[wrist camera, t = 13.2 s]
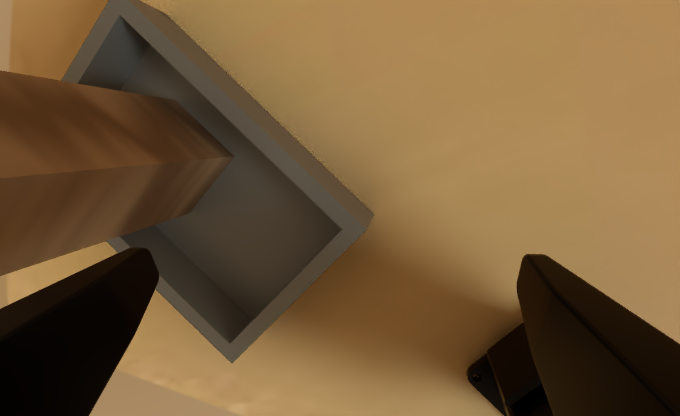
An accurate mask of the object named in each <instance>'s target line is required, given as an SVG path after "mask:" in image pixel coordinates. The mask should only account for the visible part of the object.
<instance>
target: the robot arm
mask: <svg viewBox="0 0 680 416" xmlns="http://www.w3.org/2000/svg"><path fill="white" fill-rule="evenodd" d="M158 281H159V271H158V269H157V266H156V264H155V261H154V259H153V257H152V254H151V252H150V251H149V250H148V249H147V248H144V247H131V248H128V249H126V250H124V251H122V252H119V253H117V254H115V255H113V256H111V257H109V258H107V259H105V260H103V261H100V262H98V263H96V264H94V265H92V266H90V267H88V268H86V269H84V270H81V271H79V272H77V273H75V274H73V275H71V276H69V277H67V278H65V279H62V280H60V281H58V282H56V283H54V284H52V285H50V286H48V287H46V288H43V289H41V290H39V291H37V292H35V293H33V294H31V295H29V296H27V297H24V298H22V299H20V300H18V301H16V302H14V303H12V304H10V305H8V306H5V307H3V308H1V309H0V416H89V414H90V413H91V411H92V409H93V408H94V406H95V404H96V402H97V401H98V399H99V397H100V395H101V393H102V392H103V390H104V388H105V386H106V385H107V383H108V381H109V379H110V378H111V376H112V374H113V372H114V371H115V369H116V367H117V365H118V364H119V362H120V360H121V358H122V357H123V355H124V353H125V351H126V349H127V348H128V346H129V344H130V342H131V340H132V339H133V337H134V335H135V333H136V331H137V329H138V327H139V324H140V322H141V320H142V318H143V315H144V313H145V311H146V309H147V306H148V304H149V302H150V300H151V297H152V295H153V293H154V291H155V288H156V286H157V284H158ZM517 294H518V299H519V303H520V307H521V311H522V315H523V320H524V323H522V324H521V325H519V326H518V327H517V328H516V329H514V330H513V331H512V332H510V333H509V334H508V335H506V336H505V337H504V338H503V339H501V340H500V341H499V342H497V343H496V344H495V345H494V346H492V347H491V348H490V349H488V351H487V354H486V355H484V356H483V357H482V358H481V359H479V360H478V361H477V362H475V363H474V364H473V365H471V366H470V367H469V368H468V369H467V377H468V380H469V382H470V383H471V384H472V385H473V386H474V387H475V388H476V389H477V390H478V391H479V392H480V393H481V394H482V395H483V396H484V397H485V398H486V399H487V400H488V401H490V402H491V403H492V404H493V405H494V406H495V407H496V408H497V409H498V410H499V411H500V412H501V413H502V414H503V415H504V416H680V344H679V343H677V342H676V341H674V340H673V339H671V338H670V337H668V336H667V335H665V334H664V333H662V332H661V331H659V330H658V329H656V328H655V327H653V326H652V325H650V324H649V323H647V322H646V321H644V320H643V319H641V318H640V317H638V316H637V315H635V314H634V313H632V312H631V311H629V310H628V309H626V308H625V307H623V306H622V305H620V304H619V303H617V302H616V301H614V300H613V299H611V298H610V297H608V296H607V295H605V294H604V293H602V292H601V291H599V290H598V289H596V288H595V287H593V286H592V285H590V284H589V283H587V282H586V281H584V280H583V279H581V278H580V277H578V276H577V275H575V274H574V273H572V272H571V271H569V270H568V269H566V268H565V267H563V266H562V265H560V264H559V263H557V262H556V261H554V260H553V259H551V258H550V257H548V256H546V255H543V254H526V255H525V256H524V257H523V259H522V262H521V267H520V271H519V275H518V280H517ZM474 374H480V376H479V377H473V375H474Z"/></svg>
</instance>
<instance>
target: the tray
mask: <svg viewBox="0 0 680 416" xmlns="http://www.w3.org/2000/svg"><path fill="white" fill-rule="evenodd" d="M61 81H65V82H70V83H76V84H82V85H88V86H94V87H100V88H106V89H112V90H118V91H124V92H130V93H136V94H142V95H147V96H153V97H159V98H165V99H171V100H176V101H177V102H178V103H179V104H180V105H181V106H182V107H183V108H184V109H185V110H186V111H187V112H188V113H190V114H191V115H192V116H193V117H194V118H195V119H196V120H197V121H198V122H199V123H200V124H201V125H202V126H203V127H204V128H205V129H206V130H207V131H208V132H209V133H210V134H212V135H213V136H214V137H215V138H216V139H217V140H218V141H219V142H220V143H221V144H222V145H223V146H224V147H225V148H226V149H227V150H228V151H229V152H230V153H231V154H232V155H234V158H233V159H232V160H231V161H230V163H229V164H228V165H227V166H226V168H225V169H224V170H223V171H222V173H221V174H220V175H219V176H218V178H217V179H216V180H215V181H214V183H213V184H212V185H211V186H210V188H209V189H208V190H207V191H206V193H205V194H204V195H203V196H202V198H201V199H200V200H199V201H198V203H197V204H196V205H195V206H194V208H193V209H192V210H191V211H190V213H189V214H186V215H183V216H180V217H177V218H174V219H171V220H168V221H165V222H162V223H159V224H156V225H153V226H150V227H146V228H143V229H140V230H137V231H134V232H131V233H128V234H125V235H122V236H119V237H116V238H113V239H110V240H107V241H106V242H107V243H109V244H110V245H111V246H112V247H113V248H114V249H115V250H116V251H117V252H118V253H119V252H122V251H124V250H126V249H128V248H131V247H144V248H147V249H148V250H149V251H150V252H151V254H152V257H153V259H154V261H155V264H156V266H157V269H158V271H159V281H158V284H157V286H156V288H155V289H156V290H157V291H158V292H159V293H160V294H161V295H162V296H163V297H164V298H165V299H166V300H167V301H168V302H169V303H170V304H171V305H172V306H173V307H174V308H175V309H176V310H177V311H178V312H179V313H180V314H181V315H182V316H184V317H185V318H186V319H187V320H188V321H189V322H190V323H191V324H192V325H193V326H194V327H195V328H196V329H197V330H198V331H199V332H200V333H201V334H202V335H203V336H204V337H205V338H206V339H207V340H208V341H209V342H210V343H211V344H212V345H213V346H214V347H215V348H216V349H217V350H218V351H219V352H220V353H222V354H223V355H224V356H225V357H226V358H227V359H228V360H229V361H230V362H231V363H233V362H234V361H235V360H236V359H237V358H238V357H239V356H240V355H241V354H242V353H243V352H244V351H245V350H246V349H247V348H248V347H249V346H250V345H251V344H252V343H253V342H254V341H255V340H256V339H257V338H258V337H259V336H260V335H261V334H262V333H263V332H264V331H265V330H266V329H267V328H268V327H269V326H270V325H271V324H272V323H273V322H274V321H275V320H276V319H277V318H278V317H279V316H280V315H281V314H282V313H283V312H284V311H285V310H286V309H287V308H288V307H289V306H290V305H291V304H292V303H293V302H294V301H295V300H296V299H297V298H298V297H299V296H300V295H301V294H302V293H303V292H304V291H306V290H307V289H308V288H309V287H310V286H311V285H312V284H313V283H314V282H315V281H316V280H317V279H318V278H319V277H320V276H321V275H322V274H323V273H324V272H325V271H326V270H327V269H328V268H329V267H330V266H331V265H332V264H333V263H334V262H335V261H336V260H337V259H338V258H339V257H340V256H341V255H342V254H343V253H344V252H345V251H346V250H347V249H348V248H349V247H350V246H351V245H352V244H353V243H354V242H355V241H356V240H357V239H358V238H359V237H360V236H361V235H362V234H363V233H364V232H365V231H366V230H367V228H368V226H369V224H370V222H371V220H372V218H373V216H374V214H373V213H372V212H371V211H370V210H369V209H368V208H367V207H366V206H365V205H364V204H363V203H362V202H361V201H360V200H359V199H358V198H357V197H355V196H354V195H353V194H352V193H351V192H350V191H349V190H348V189H347V188H346V187H345V186H344V185H343V184H342V183H341V182H340V181H339V180H338V179H337V178H336V177H335V176H334V175H333V174H332V173H331V172H329V171H328V170H327V169H326V168H325V167H324V166H323V165H322V164H321V163H320V162H319V161H318V160H317V159H316V158H315V157H314V156H313V155H312V154H311V153H310V152H309V151H308V150H307V149H306V148H305V147H304V146H302V145H301V144H300V143H299V142H298V141H297V140H296V139H295V138H294V137H293V136H292V135H291V134H290V133H289V132H288V131H287V130H286V129H285V128H284V127H283V126H282V125H281V124H280V123H279V122H278V121H276V120H275V119H274V118H273V117H272V116H271V115H270V114H269V113H268V112H267V111H266V110H265V109H264V108H263V107H262V106H261V105H260V104H259V103H258V102H257V101H256V100H255V99H254V98H253V97H252V96H250V95H249V94H248V93H247V92H246V91H245V90H244V89H243V88H242V87H241V86H240V85H239V84H238V83H237V82H236V81H235V80H234V79H233V78H232V77H231V76H230V75H229V74H228V73H227V72H226V71H225V70H223V69H222V68H221V67H220V66H219V65H218V64H217V63H216V62H215V61H214V60H213V59H212V58H211V57H210V56H209V55H208V54H207V53H206V52H205V51H204V50H203V49H202V48H201V47H200V46H199V45H197V44H196V43H195V42H194V41H193V40H192V39H191V38H190V37H189V36H188V35H187V34H186V33H185V32H184V31H183V30H182V29H181V28H180V27H179V26H178V25H177V24H176V23H175V22H174V21H173V20H171V19H170V18H169V17H168V16H167V15H166V14H165V13H163V12H161V11H159V10H157V9H155V8H153V7H151V6H150V5H148V4H146V3H144V2H142V1H140V0H109V1H108V3H107V5H106V6H105V8H104V10H103V11H102V13H101V15H100V16H99V18H98V20H97V21H96V23H95V25H94V26H93V28H92V30H91V31H90V33H89V35H88V36H87V38H86V40H85V41H84V43H83V45H82V46H81V48H80V50H79V52H78V53H77V55H76V57H75V58H74V60H73V62H72V63H71V65H70V67H69V68H68V70H67V72H66V73H65V75H64V77H63V78H62V80H61Z"/></svg>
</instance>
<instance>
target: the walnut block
mask: <svg viewBox="0 0 680 416" xmlns="http://www.w3.org/2000/svg"><path fill="white" fill-rule="evenodd" d="M233 158H234V155H232V154H231V153H230V152H229V151H228V150H227V149H226V148H225V147H224V146H223V145H222V144H221V143H220V142H219V141H218V140H217V139H216V138H215V137H214V136H213V135H212V134H210V133H209V132H208V131H207V130H206V129H205V128H204V127H203V126H202V125H201V124H200V123H199V122H198V121H197V120H196V119H195V118H194V117H193V116H192V115H191V114H190V113H188V112H187V111H186V110H185V109H184V108H183V107H182V106H181V105H180V104H179V103H178V102H177V101H176V100H171V99H165V98H159V97H153V96H147V95H142V94H136V93H130V92H124V91H118V90H112V89H106V88H100V87H94V86H88V85H82V84H76V83H70V82H65V81H59V80H53V79H47V78H41V77H35V76H29V75H23V74H17V73H11V72H5V71H0V276H2V275H5V274H8V273H11V272H14V271H17V270H20V269H23V268H26V267H29V266H32V265H35V264H38V263H41V262H44V261H47V260H50V259H53V258H56V257H59V256H62V255H65V254H68V253H71V252H74V251H77V250H80V249H83V248H86V247H89V246H92V245H95V244H98V243H101V242H104V241H107V240H110V239H113V238H116V237H119V236H122V235H125V234H128V233H131V232H134V231H137V230H140V229H143V228H146V227H150V226H153V225H156V224H159V223H162V222H165V221H168V220H171V219H174V218H177V217H180V216H183V215H186V214H189V213H190V211H191V210H192V209H193V208H194V206H195V205H196V204H197V203H198V201H199V200H200V199H201V198H202V196H203V195H204V194H205V193H206V191H207V190H208V189H209V188H210V186H211V185H212V184H213V183H214V181H215V180H216V179H217V178H218V176H219V175H220V174H221V173H222V171H223V170H224V169H225V168H226V166H227V165H228V164H229V163H230V161H231V160H232V159H233Z"/></svg>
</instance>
